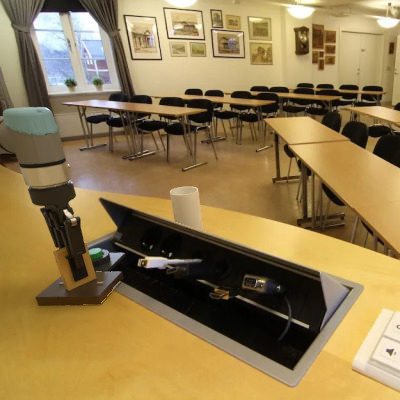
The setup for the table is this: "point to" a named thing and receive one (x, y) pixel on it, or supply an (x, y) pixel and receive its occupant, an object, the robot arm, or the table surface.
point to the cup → (187, 206)
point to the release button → (95, 253)
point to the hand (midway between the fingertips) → (78, 276)
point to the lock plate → (80, 291)
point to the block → (107, 261)
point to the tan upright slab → (66, 269)
